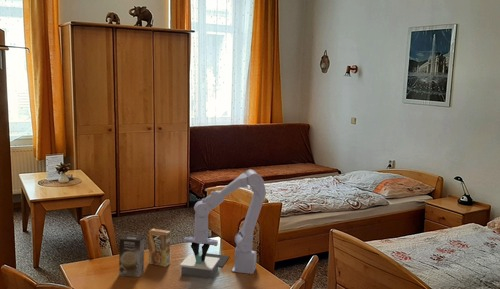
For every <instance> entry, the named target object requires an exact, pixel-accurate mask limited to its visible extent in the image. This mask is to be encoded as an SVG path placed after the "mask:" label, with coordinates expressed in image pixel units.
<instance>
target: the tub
mask: <svg viewBox="0 0 500 289" xmlns="http://www.w3.org/2000/svg"><path fill="white" fill-rule="evenodd" d="M180 268H181V272H180V273H181V274H180V275H181V276H185V277H186V276H187V277H194V278H200V279H208V280H212V278H213V276H214V275H215V274H216V272H217V271H218V269H219V267H218V263H217V264H216V266H215V267H214V268H213V270H205V269H197V268H189V267H181V266H180Z"/></svg>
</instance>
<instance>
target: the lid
mask: <svg viewBox="0 0 500 289" xmlns="http://www.w3.org/2000/svg"><path fill="white" fill-rule="evenodd" d="M219 260H220V258H215V257H207V256H206V257H205V260H204V261H202V250H199V253H198V254H197V255H196V259H195V255H194V254H188V255H187V256H186V258H184V260H183V261H182V262H181V263H180V264H179V267H180V268H181V267H189V268H197V269H205V270H213V268H214V267H215V266H216V264H217V263H218V261H219Z"/></svg>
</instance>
